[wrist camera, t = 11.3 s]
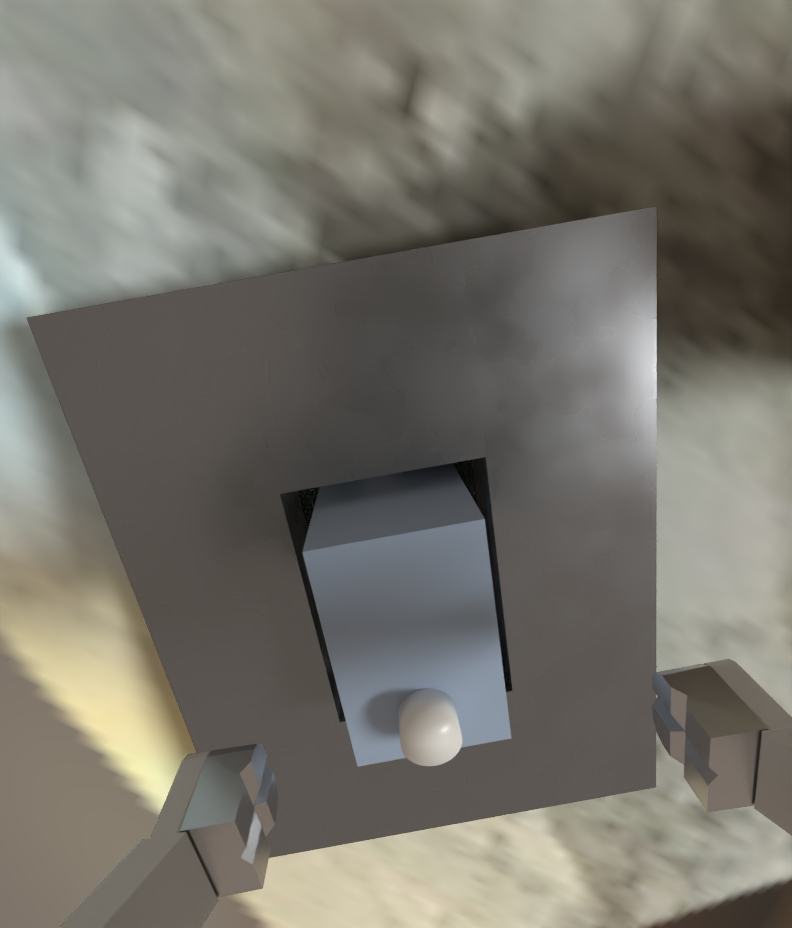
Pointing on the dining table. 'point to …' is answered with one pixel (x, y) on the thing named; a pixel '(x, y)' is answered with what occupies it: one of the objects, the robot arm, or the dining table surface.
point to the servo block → (408, 614)
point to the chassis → (381, 453)
